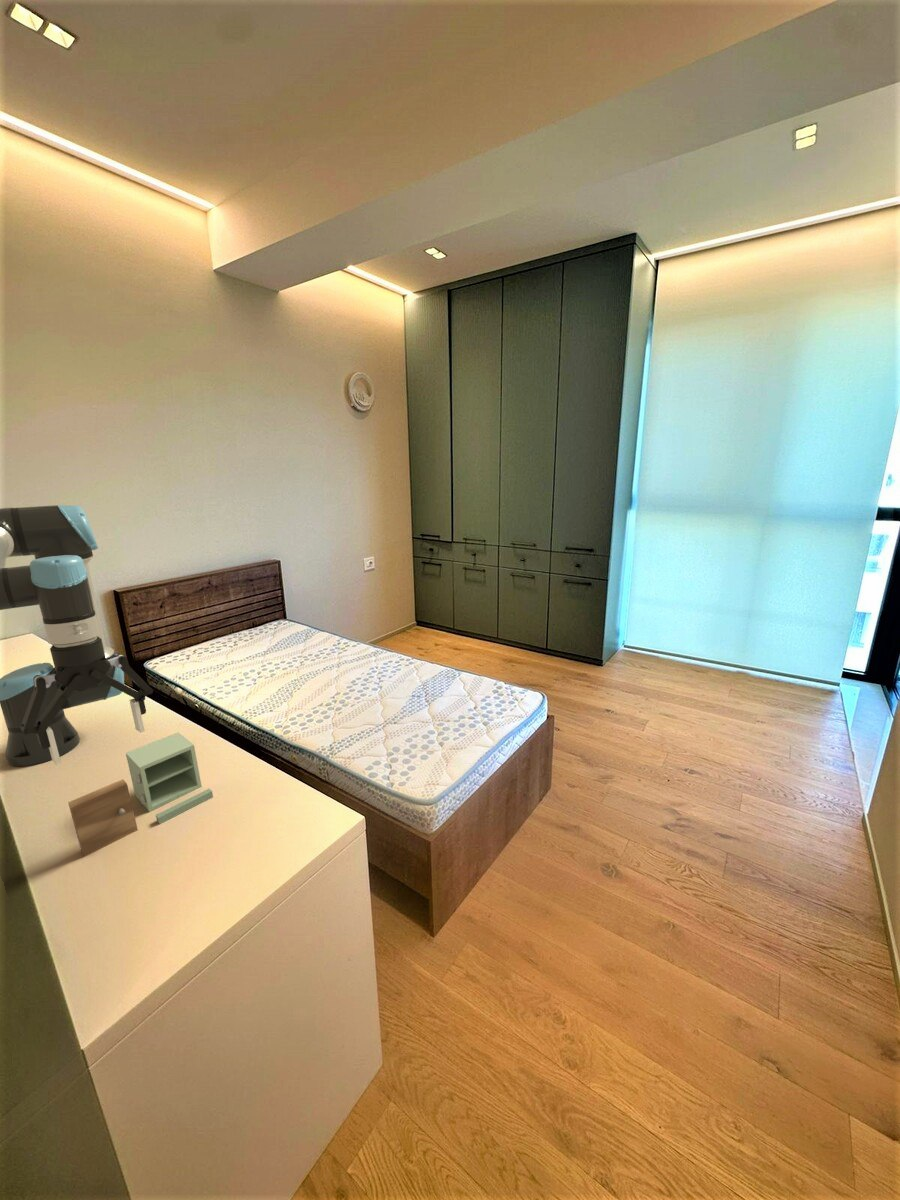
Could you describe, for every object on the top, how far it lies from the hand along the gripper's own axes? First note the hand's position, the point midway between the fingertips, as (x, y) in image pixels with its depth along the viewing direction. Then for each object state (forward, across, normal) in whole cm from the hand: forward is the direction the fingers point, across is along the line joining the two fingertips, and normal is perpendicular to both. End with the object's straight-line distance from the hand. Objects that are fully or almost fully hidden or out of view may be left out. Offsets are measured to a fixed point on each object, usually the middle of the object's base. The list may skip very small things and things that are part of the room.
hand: (100, 745), depth 91 cm
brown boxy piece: (+20, -2, 0) cm, 20 cm away
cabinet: (+20, +11, +4) cm, 23 cm away
